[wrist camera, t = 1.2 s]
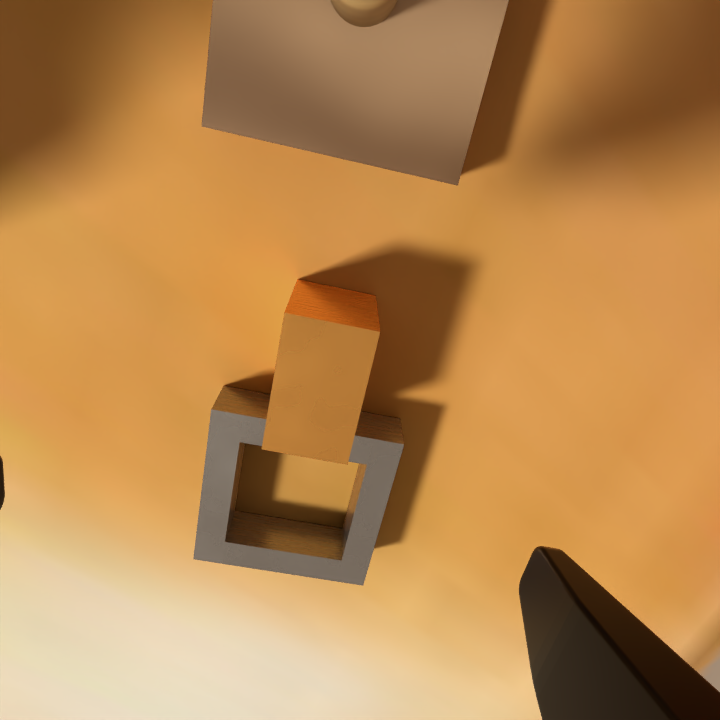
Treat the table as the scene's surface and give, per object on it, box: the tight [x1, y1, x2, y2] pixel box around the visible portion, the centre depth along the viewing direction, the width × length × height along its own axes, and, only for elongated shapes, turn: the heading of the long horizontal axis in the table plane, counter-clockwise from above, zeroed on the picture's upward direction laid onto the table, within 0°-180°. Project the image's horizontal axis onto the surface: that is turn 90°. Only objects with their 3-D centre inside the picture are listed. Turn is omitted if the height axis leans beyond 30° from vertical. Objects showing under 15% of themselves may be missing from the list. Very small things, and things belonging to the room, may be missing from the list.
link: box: [194, 279, 404, 585], centre depth 20 cm, size 12×7×4 cm, turn 168°
